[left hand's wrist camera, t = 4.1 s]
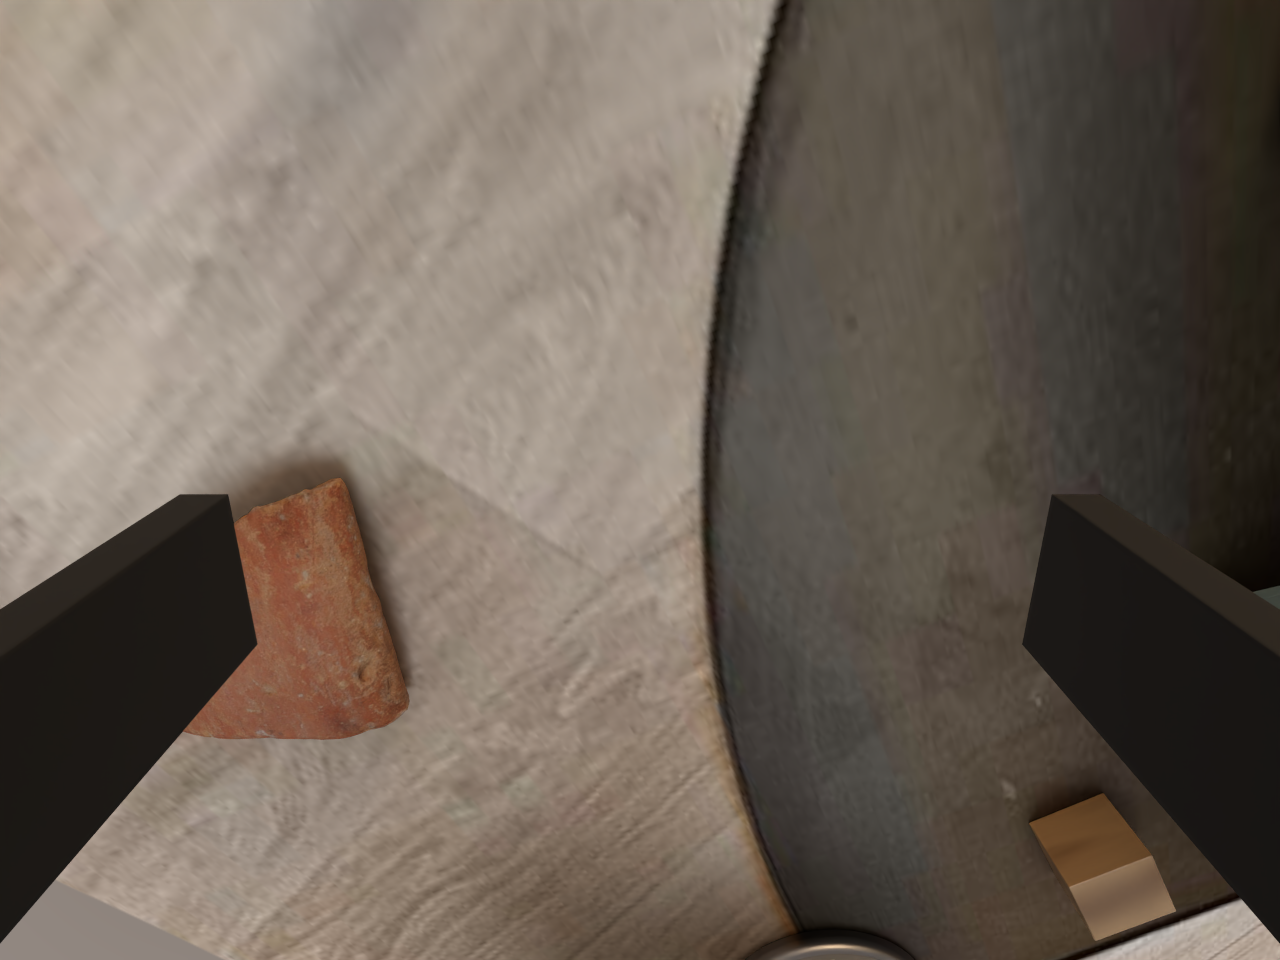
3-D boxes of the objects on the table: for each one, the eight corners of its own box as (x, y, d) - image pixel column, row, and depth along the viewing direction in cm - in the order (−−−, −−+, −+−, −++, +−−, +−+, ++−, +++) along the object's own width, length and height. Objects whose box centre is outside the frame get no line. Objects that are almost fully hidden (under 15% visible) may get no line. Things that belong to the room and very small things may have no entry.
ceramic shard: (22, 538, 37) (339, 485, 38) (97, 507, 43) (367, 462, 45) (111, 806, 40) (402, 747, 41) (169, 741, 46) (420, 692, 48)
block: (1126, 845, 51) (1176, 911, 46) (1053, 873, 51) (1095, 941, 47) (1103, 792, 49) (1152, 855, 44) (1028, 822, 50) (1068, 887, 45)
